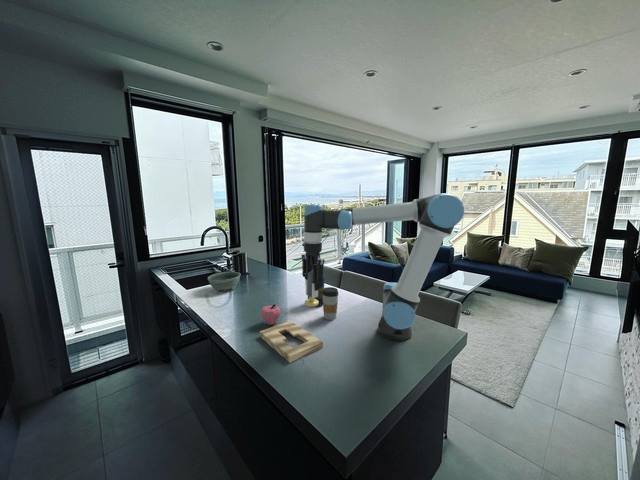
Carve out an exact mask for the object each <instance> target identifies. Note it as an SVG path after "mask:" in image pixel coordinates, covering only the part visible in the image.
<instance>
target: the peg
mask: <svg viewBox="0 0 640 480" xmlns="http://www.w3.org/2000/svg"><path fill="white" fill-rule="evenodd" d="M312 282H314V281H313V271H309V272H308V281H307V295H306V296H307V297H308V296H309V299H308V298H307V299H305V300H304V306H306V307H318V306H317V305H318V304H319V301H318V300H316V299H315V298H312Z"/></svg>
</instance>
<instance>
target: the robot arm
mask: <svg viewBox="0 0 640 480" xmlns="http://www.w3.org/2000/svg"><path fill="white" fill-rule="evenodd" d="M464 207H465V206H464V204H463V202H462V200H461V199H460V198H459V197H457V196H456V195H454V194H451V193H446V192H445V193H444V192H443V193H438V194H432V195H430V196H426V197H421V198H416V199H413V200H412V201H409V202H400V203H390V204H389V203H388V204H380V205H372V206H371V205H370V206H361V207H353V208H339V209H337V210H335V209H333V210H332V209H331V210H330V209H329V210H328V209H324V206H323V205H322V204H306V205H305V206H304V215H303V218H304V220H303V223H304V224H303V227H304V229H303V241H304V242H303V251H304V252H305V253H304V254H301V261H302V266H301V267H302V268H301V270H302V272H301V273H302V274H301V275H302V277H303V278H304V280H305V295H306V296H308V295H307V281H308V272H309V271H313V281H314V282H312V298H315V297H318V290H319V283H320V282H322V281H323V276H324V264H325V263H326V262H325V259H322V258H321V252H322V251H323V250H322V249H323V248H322V247H323V243H322V241H323V229H328V230H329V229H331V230H341V231H344V230H350V229H352V226H356V225H358V226H359V225H368V224H382V223H391V222H392V223H395V222H407V221H414V222H416V223H418V226H419V228H420V231H419V232H418V236H417V238H416V240H415V242H414V244H413V247H412V248H411V251H410V254H409V256H408V258H407V261H406V263H405V265H404V267H403V269H402V272H401V275H400V277H399V280H398V282H386V283H384V284H383V288H382V290H383V291H382V293H383V295H382V309H381V310H382V312H381V313H382V315H381V317H380V319H379V322H378V325H377V332H378V334H379V335H380V336H382V337H384V338H386V339H388V340H392V341H406V340H409V339H411V337H412V335H413V328H412V325H414V323H415V322H416V321H415V320H416V311H417V309H418V307H419V303H420V302H421V298H420V297H419V294H420V292H421V289H422V287H423V284H424V283H425V281H426V278H427V276H428V274H429V272H430V270H431V267H432V265H433V263H434V261H435V259H436V256H437V254H438V252H439V250H440V247H441V246H442V243H443V240H444V239H445V238H447V237H449V236H451V235H452V232H453V230H454V228H455V226H457V225H458V224H459V223H460V222H461V221H462V219H463V217H464V214H465V208H464Z"/></svg>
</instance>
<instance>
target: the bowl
mask: <svg viewBox="0 0 640 480" xmlns="http://www.w3.org/2000/svg"><path fill="white" fill-rule="evenodd" d="M240 278H241V273H240V272H237V271H224V272H218V273H213V274H211V275H209V276H208V277H207V280H208V283H209V285H210V286H211V288H213V289H215V290H217V291H218V292H221V293H222V292H223V293H225V292H229V291H232V290H233V288H235V287H236V286H238V283H239V281H240Z"/></svg>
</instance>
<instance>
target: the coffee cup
mask: <svg viewBox="0 0 640 480" xmlns="http://www.w3.org/2000/svg"><path fill="white" fill-rule="evenodd" d="M322 295H323V305H322V306H323V307H322V311H323V317H324V319H325V320H327V321H328V320H329V321H333V320H335V319H337V312H338V301H339V300H338V299H339V291H338V288H337V287H332V286H331V287H330V286H329V287H324V289H323V293H322Z"/></svg>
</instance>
